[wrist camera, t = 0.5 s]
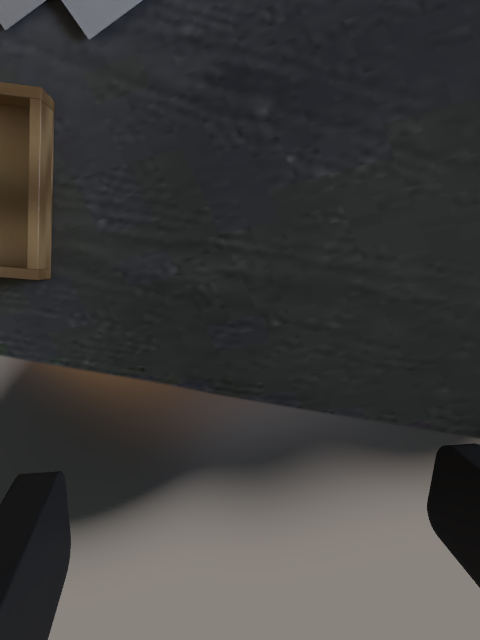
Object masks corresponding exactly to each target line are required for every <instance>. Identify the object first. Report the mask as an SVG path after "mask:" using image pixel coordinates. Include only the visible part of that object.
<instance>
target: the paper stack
mask: <svg viewBox="0 0 480 640" xmlns="http://www.w3.org/2000/svg"><path fill="white" fill-rule="evenodd" d="M45 1H46V0H0V24H1V25H2V26H3V28H4V29H5V30H7V29H8V28H10V27H11V26H12V25H14V24H15V23H16V22H18V21H19V20H20V19H22V18H23V17H24V16H26V15H27V14H28V13H30V12H31V11H32V10H34V9H35V8H37V7H38V6H39V5H41V4H42V3H43V2H45ZM141 1H142V0H62V2H63V3H64V5H65V6H66V8H67V9H68V10H69V12H70V13H71V15H72V16H73V18H74V19H75V20H76V22H77V23H78V25H79V26H80V28H81V29H82V30H83V32H84V33H85V35H86V36H87V38H88V39H89V40H90V39H91V38H92V37H94V36H95V35H96V34H98V33H99V32H100V31H102V30H103V29H105V28H106V27H107V26H109V25H110V24H111V23H113V22H114V21H115V20H117V19H118V18H119V17H121V16H122V15H123V14H125V13H126V12H128V11H129V10H130V9H132V8H133V7H134V6H136V5H137V4H138V3H140V2H141Z"/></svg>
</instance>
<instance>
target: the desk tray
mask: <svg viewBox="0 0 480 640" xmlns="http://www.w3.org/2000/svg"><path fill="white" fill-rule="evenodd" d="M54 112H55V101H54V100H53V99H52V98H51V97H50V96H49V95H48V94H47V93H46V92H45V91H44V90H43V89H42V88H41V87H35V86H27V85H19V84H11V83H3V82H0V277H4V278H16V279H29V280H44V279H50V278H51V237H52V195H53V153H54Z"/></svg>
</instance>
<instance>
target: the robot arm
mask: <svg viewBox="0 0 480 640" xmlns="http://www.w3.org/2000/svg"><path fill="white" fill-rule="evenodd" d="M427 511H428V516H429V520H430V523H431V526H432V527H433V530H434V531H435V533H436V534H437V536H438V537H439V538H440V539H441V541H442V542H443V543H444V544H445V546H446V547H447V548H448V549H449V550H450V552H451V553H452V554H453V555H454V557H455V558H456V559H457V560H458V562H459V563H460V564H461V565H462V566H463V568H464V569H465V570H466V571H467V573H468V574H469V575H470V576H471V578H472V579H473V580H474V581H475V582H476V584H477V585H478V586H479V587H480V445H479V444H461V445H447V446H442V447H441V448H440V449H439V450H438V452H437V454H436V459H435V464H434V470H433V475H432V481H431V486H430V492H429V496H428V502H427ZM70 548H71V536H70V525H69V514H68V504H67V493H66V483H65V477H64V474H63V472H62V471H59V472H47V473H46V472H45V473H30V474H20V475H18V476H17V477H16V478H15V480H14V482H13V483H12V485H11V487H10V489H9V490H8V492H7V494H6V495H5V497H4V499H3V501H2V502H1V504H0V640H48V637H49V633H50V630H51V626H52V622H53V620H54V616H55V613H56V609H57V606H58V602H59V599H60V595H61V592H62V588H63V585H64V581H65V578H66V574H67V570H68V565H69V559H70Z"/></svg>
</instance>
